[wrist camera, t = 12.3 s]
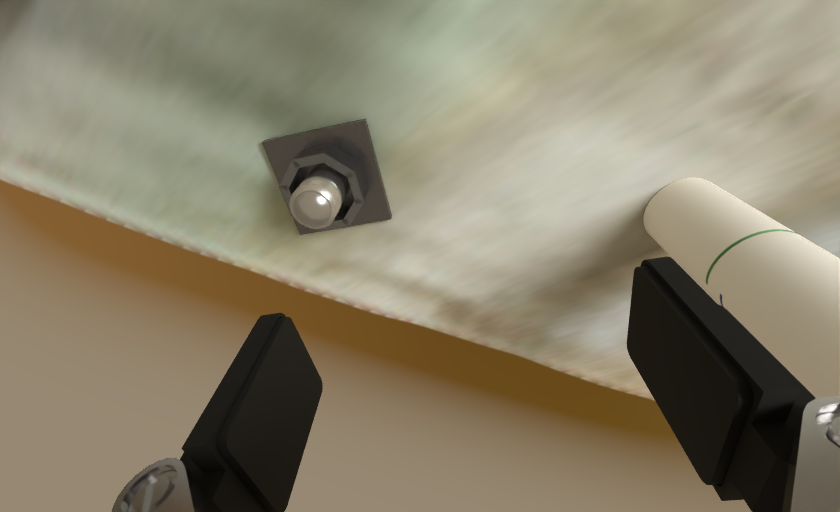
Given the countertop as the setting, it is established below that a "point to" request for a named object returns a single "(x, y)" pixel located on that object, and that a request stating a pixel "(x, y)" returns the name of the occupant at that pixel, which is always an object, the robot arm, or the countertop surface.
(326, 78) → the countertop surface
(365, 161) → the grey peg base
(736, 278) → the cylindrical container
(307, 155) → the ring
